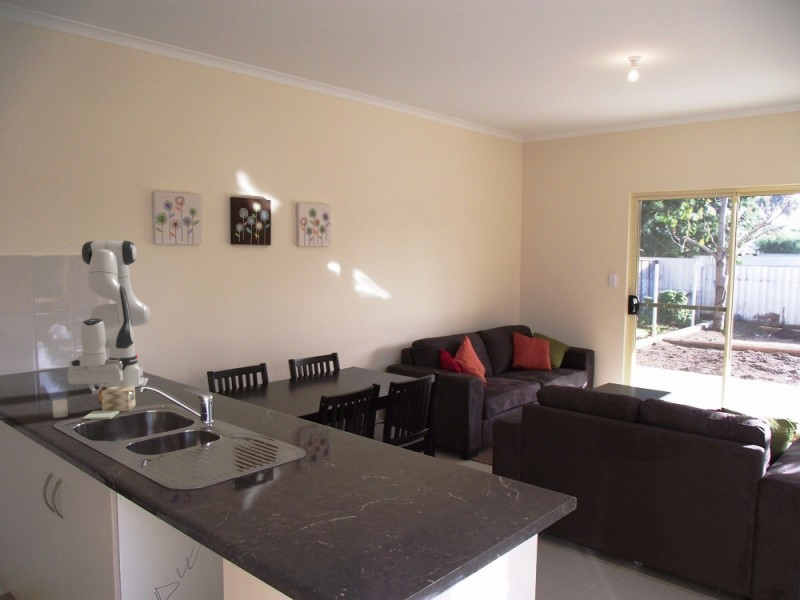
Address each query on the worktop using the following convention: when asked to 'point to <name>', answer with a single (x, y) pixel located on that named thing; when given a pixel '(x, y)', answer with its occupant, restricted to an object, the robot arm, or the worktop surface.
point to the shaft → (101, 397)
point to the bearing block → (118, 398)
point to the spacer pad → (102, 414)
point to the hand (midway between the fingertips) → (96, 394)
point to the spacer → (60, 408)
